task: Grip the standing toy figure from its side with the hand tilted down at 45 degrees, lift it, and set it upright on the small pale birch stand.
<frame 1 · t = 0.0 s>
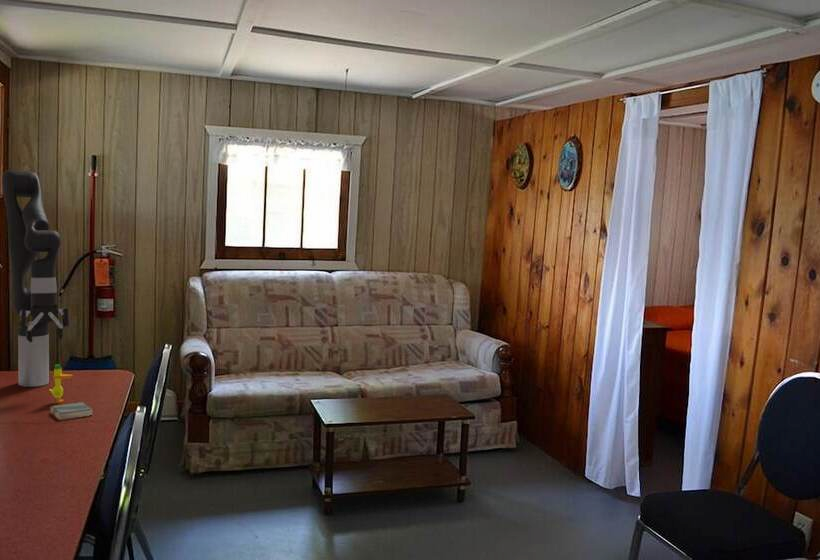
hand: (44, 340, 230), 17 cm above the table, tool pointing down, fingers open, 8 cm apart
stand: (71, 414, 209), on the table
toy figure: (60, 402, 221), on the table
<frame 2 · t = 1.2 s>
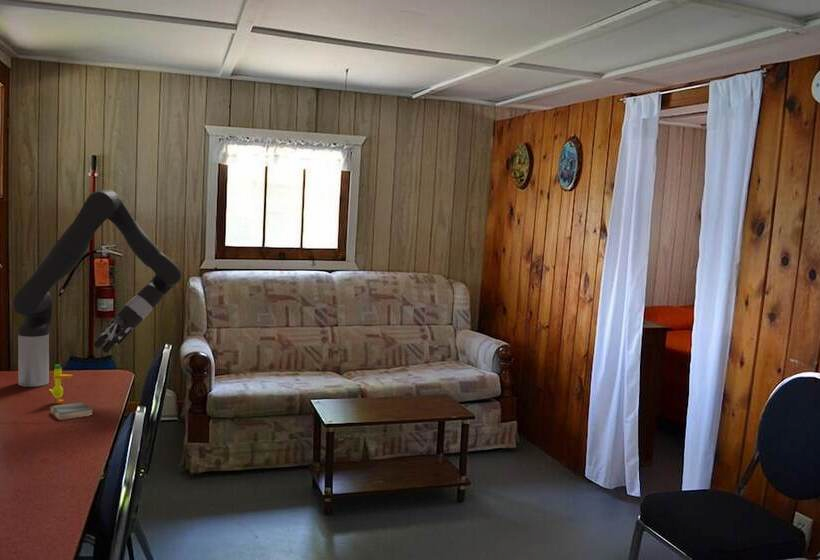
hand: (99, 349, 227), 16 cm above the table, tool tilted 45°, fingers open, 8 cm apart
nothing on the table moved.
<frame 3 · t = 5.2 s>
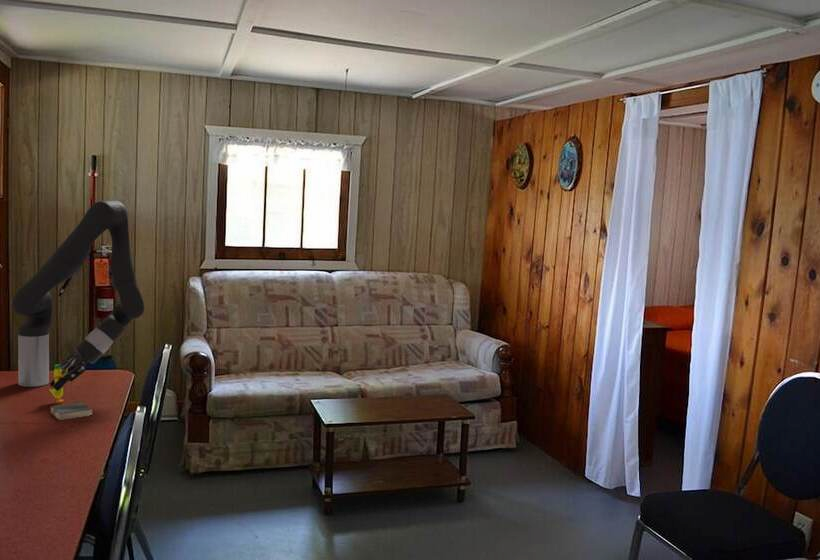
hand: (53, 387, 219), 5 cm above the table, tool tilted 45°, fingers closed on toy figure, 3 cm apart
toy figure: (60, 402, 221), on the table, touching gripper
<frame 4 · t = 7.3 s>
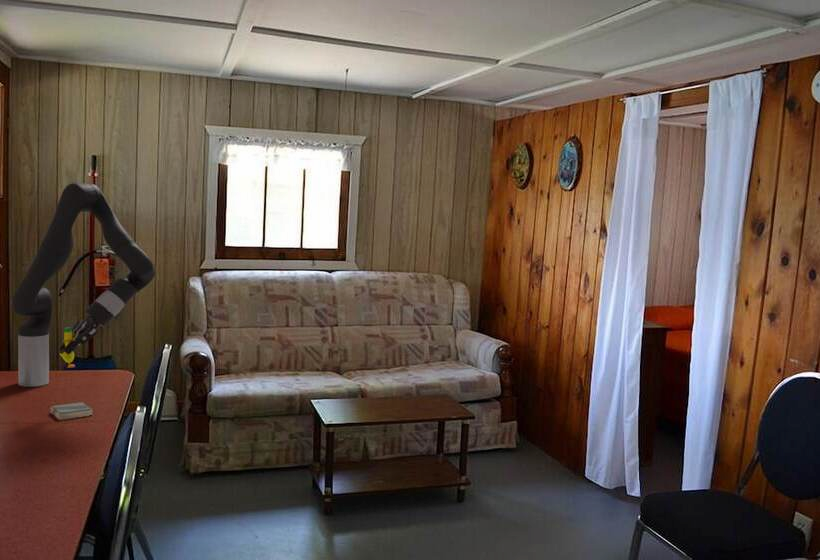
hand: (63, 351, 210), 18 cm above the table, tool tilted 45°, fingers closed on toy figure, 3 cm apart
toy figure: (71, 367, 212), point 13 cm above the table, touching gripper
when the fingers open (8 cm above the table, at t = 9.8 s): toy figure stays where it is, resting on stand.
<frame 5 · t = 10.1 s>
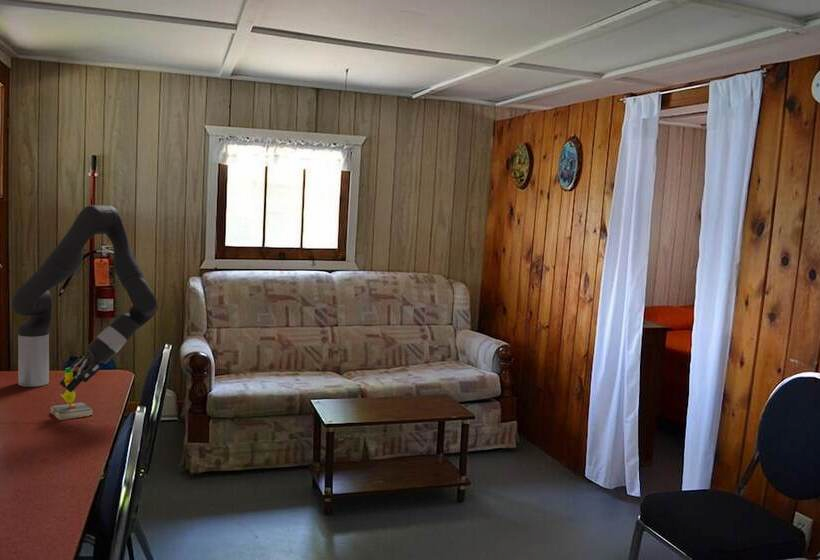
hand: (65, 387, 207), 8 cm above the table, tool tilted 45°, fingers open, 5 cm apart
toy figure: (72, 407, 209), point 2 cm above the table, touching stand
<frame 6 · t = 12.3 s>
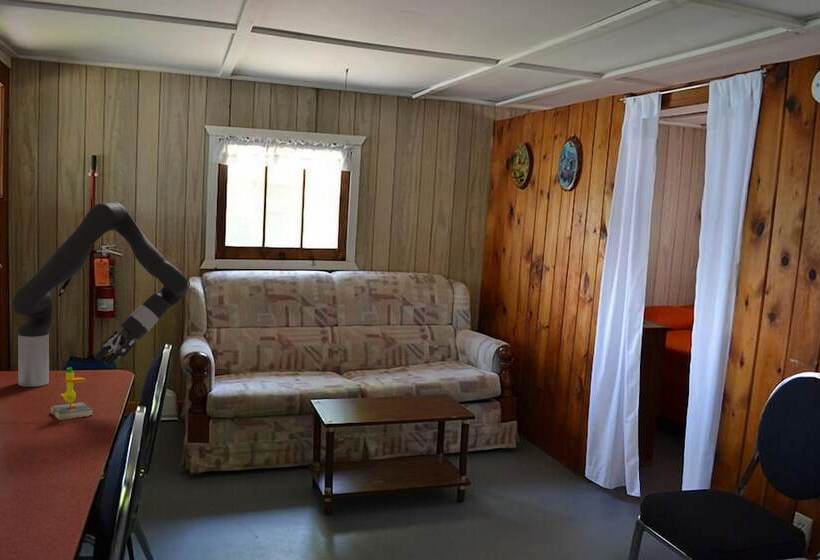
hand: (101, 361, 216), 15 cm above the table, tool tilted 45°, fingers open, 8 cm apart
nothing on the table moved.
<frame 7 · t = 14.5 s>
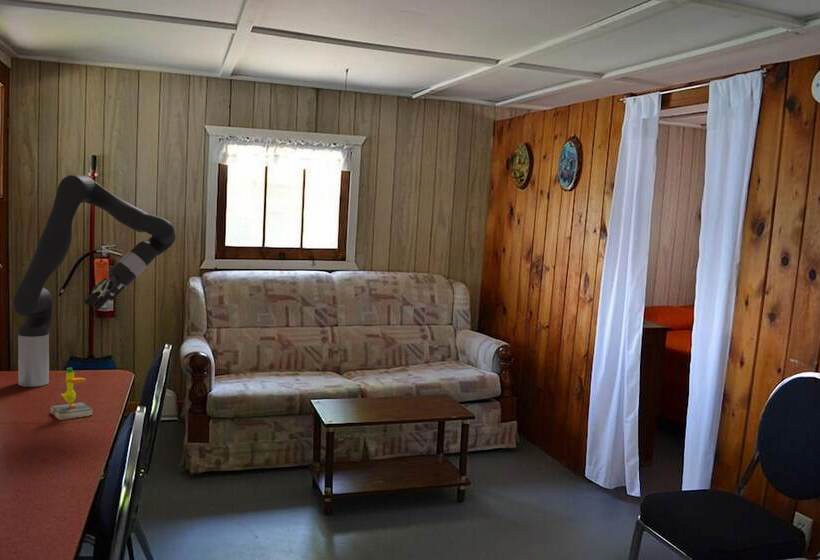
hand: (90, 305, 220), 31 cm above the table, tool tilted 45°, fingers open, 8 cm apart
nothing on the table moved.
at the end: toy figure inside the target area on the stand (0.3 cm from its centre), point 1.8 cm above the stand's base; toy figure tilted 0°; the gripper is holding nothing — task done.
